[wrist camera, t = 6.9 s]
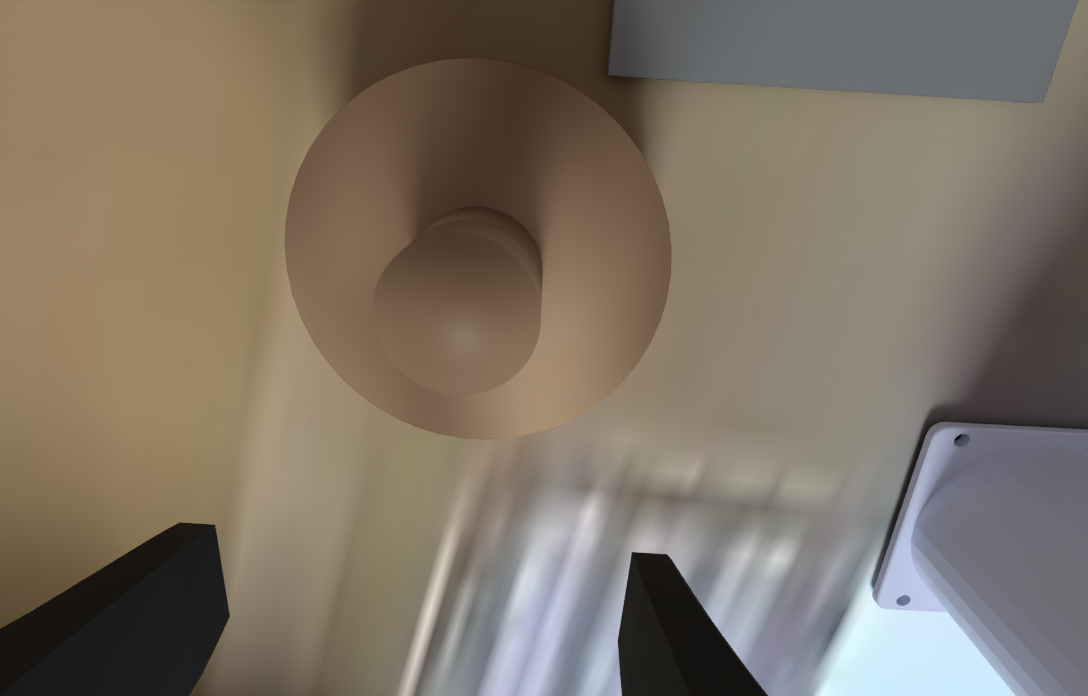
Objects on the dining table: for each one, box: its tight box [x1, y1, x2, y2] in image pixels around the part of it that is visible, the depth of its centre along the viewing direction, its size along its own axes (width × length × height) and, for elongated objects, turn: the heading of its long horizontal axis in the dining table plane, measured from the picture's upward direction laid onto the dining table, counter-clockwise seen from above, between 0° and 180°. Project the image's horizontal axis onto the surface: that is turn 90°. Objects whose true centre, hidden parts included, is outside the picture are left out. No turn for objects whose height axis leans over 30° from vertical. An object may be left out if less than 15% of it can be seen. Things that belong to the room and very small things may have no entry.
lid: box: [285, 58, 671, 440], centre depth 12 cm, size 9×9×4 cm
